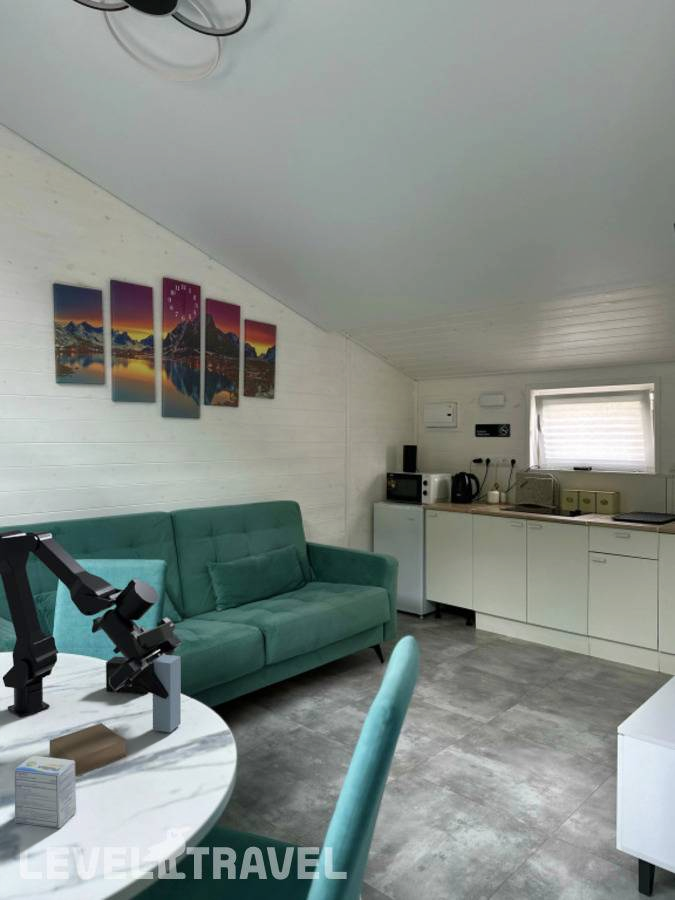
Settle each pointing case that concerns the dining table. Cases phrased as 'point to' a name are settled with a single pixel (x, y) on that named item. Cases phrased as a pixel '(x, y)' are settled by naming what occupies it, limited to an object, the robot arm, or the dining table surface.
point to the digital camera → (112, 667)
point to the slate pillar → (169, 708)
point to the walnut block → (89, 747)
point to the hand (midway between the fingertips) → (172, 693)
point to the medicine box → (45, 791)
